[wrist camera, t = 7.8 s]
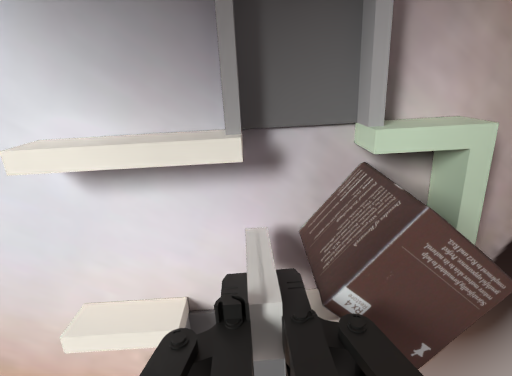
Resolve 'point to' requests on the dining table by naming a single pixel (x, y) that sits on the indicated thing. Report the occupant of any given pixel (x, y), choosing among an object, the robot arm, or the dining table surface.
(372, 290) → the box
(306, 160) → the dining table surface
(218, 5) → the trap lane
